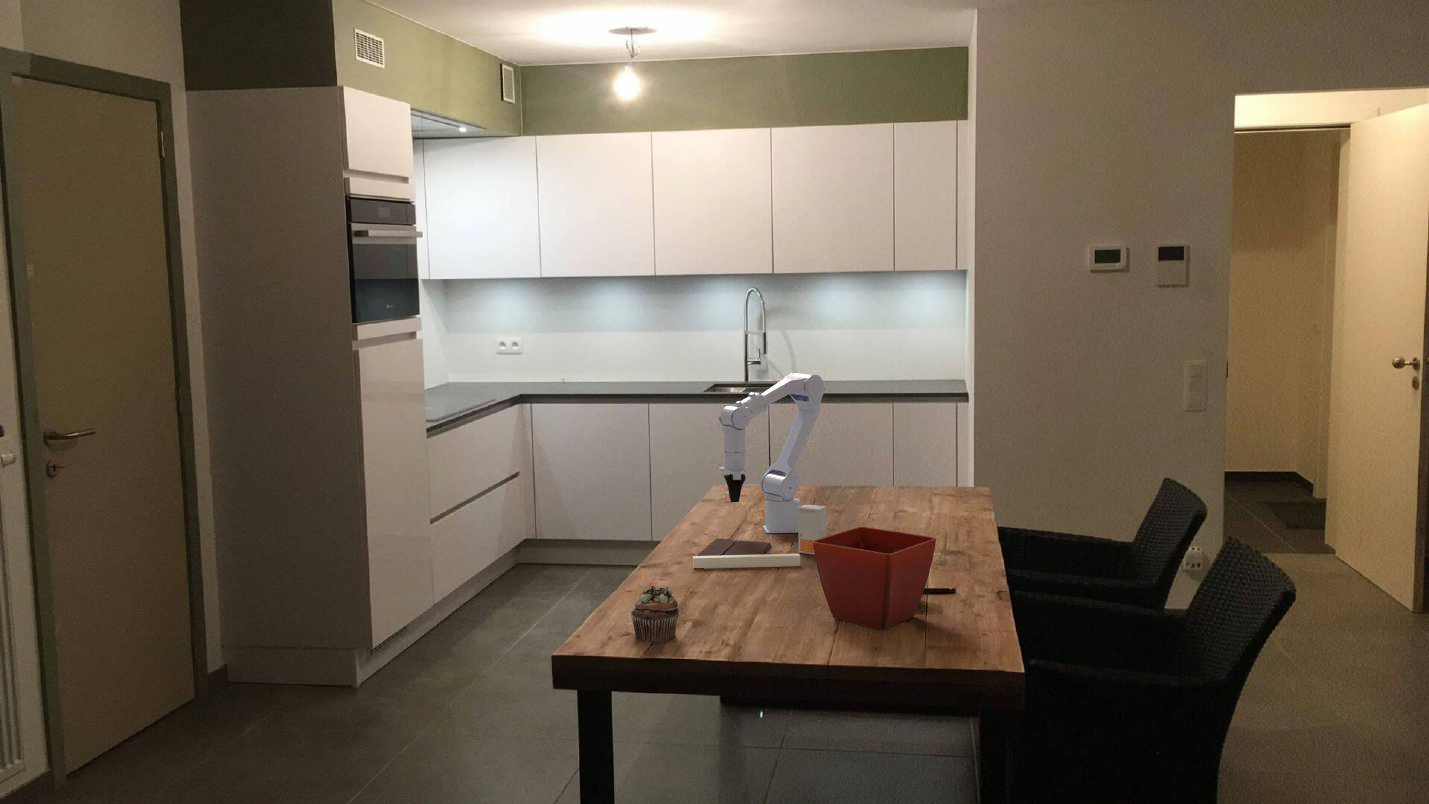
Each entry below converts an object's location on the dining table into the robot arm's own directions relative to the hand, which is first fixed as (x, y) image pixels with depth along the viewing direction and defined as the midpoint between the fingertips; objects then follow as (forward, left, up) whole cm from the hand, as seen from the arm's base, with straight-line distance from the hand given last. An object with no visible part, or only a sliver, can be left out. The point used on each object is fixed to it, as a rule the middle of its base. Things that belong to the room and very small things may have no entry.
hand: (734, 501), depth 332 cm
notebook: (+2, +17, -11) cm, 20 cm away
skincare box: (-18, +18, -10) cm, 27 cm away
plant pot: (-22, +75, -10) cm, 79 cm away
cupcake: (+24, +83, -10) cm, 87 cm away
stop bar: (0, +30, -10) cm, 32 cm away
